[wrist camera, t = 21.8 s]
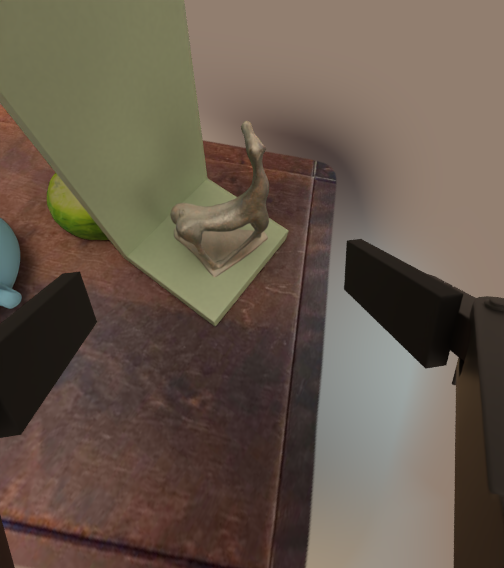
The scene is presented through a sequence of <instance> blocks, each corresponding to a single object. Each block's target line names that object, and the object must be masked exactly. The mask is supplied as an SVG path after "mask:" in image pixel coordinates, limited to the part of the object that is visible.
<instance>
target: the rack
mask: <svg viewBox="0 0 504 568" xmlns="http://www.w3.org/2000/svg"><path fill="white" fill-rule="evenodd" d="M0 103H1V104H2V106H3V107H4V108H5V109H6V111H7V112H8V113H9V114H10V116H11V117H12V118H13V120H14V121H15V122H16V123H17V125H18V126H19V127H20V128H21V130H22V131H23V132H24V133H25V135H26V136H27V137H28V138H29V140H30V141H31V142H32V143H33V145H34V146H35V147H36V148H37V150H38V151H39V152H40V153H41V155H42V156H43V157H44V158H45V160H46V161H47V162H48V163H49V165H50V166H51V167H52V168H53V170H54V171H55V172H56V174H57V175H58V176H59V177H60V179H61V180H62V181H63V182H64V184H65V185H66V186H67V187H68V189H69V190H70V191H71V192H72V194H73V195H74V196H75V197H76V199H77V200H78V201H79V202H80V204H81V205H82V206H83V207H84V209H85V210H86V211H87V212H88V214H89V215H90V216H91V217H92V219H93V220H94V221H95V222H96V224H97V225H98V226H99V227H100V229H101V230H102V231H103V233H104V234H105V235H106V236H107V238H108V239H109V240H110V241H111V243H112V244H113V245H114V246H115V248H116V249H117V250H118V251H119V253H120V254H121V255H122V256H123V257H124V258H125V259H126V260H128V261H129V262H130V263H132V264H133V265H134V266H136V267H137V268H138V269H140V270H141V271H142V272H144V273H145V274H146V275H147V276H149V277H150V278H151V279H153V280H154V281H155V282H157V283H158V284H159V285H161V286H162V287H163V288H165V289H166V290H167V291H169V292H170V293H171V294H173V295H174V296H175V297H177V298H178V299H179V300H181V301H182V302H183V303H184V304H186V305H187V306H188V307H190V308H191V309H192V310H194V311H195V312H196V313H198V314H199V315H200V316H202V317H203V318H204V319H206V320H207V321H208V322H210V323H211V324H212V325H214V326H216V325H217V324H218V323H219V322H220V320H221V319H222V318H223V317H224V315H225V314H226V313H227V312H228V310H229V309H230V308H231V307H232V305H233V304H234V303H235V302H236V300H237V299H238V298H239V297H240V295H241V294H242V293H243V292H244V291H245V289H246V288H247V287H248V286H249V284H250V283H251V282H252V281H253V279H254V278H255V277H256V276H257V274H258V273H259V272H260V271H261V269H262V268H263V267H264V266H265V264H266V263H267V262H268V261H269V259H270V258H271V257H272V256H273V254H274V253H275V252H276V251H277V249H278V248H279V247H280V246H281V244H282V243H283V242H284V241H285V240H286V237H287V234H288V230H287V229H285V228H284V227H282V226H281V225H279V224H277V223H276V222H274V221H273V220H271V219H270V218H269V224H268V227H267V228H266V230H265V231H264V232H265V233H266V234H267V236H268V239H267V240H266V241H265V242H263V243H262V244H261V245H260V246H259V247H258V248H257V249H255V250H254V251H253V252H252V253H250V254H249V255H248V256H246V257H245V258H244V259H242V260H241V261H239V262H238V263H236V264H235V265H234V266H232V267H231V268H229V269H228V270H226V271H225V272H223V273H221V274H220V275H218V276H217V277H213V276H212V275H211V274H210V273H209V272H208V271H207V269H206V268H205V267H204V265H203V264H202V263H201V262H200V260H199V259H198V258H197V257H196V256H195V255H194V254H193V253H192V252H191V251H190V250H189V249H187V248H186V247H185V246H184V245H183V244H181V243H180V242H179V241H178V240H176V239H175V237H174V229H175V228H176V224H174V223H173V222H172V220H171V216H170V213H171V210H172V208H173V207H174V206H175V205H176V204H178V203H188V204H193V205H197V206H205V207H208V206H214V205H218V204H222V203H226V202H228V201H231V200H233V199H235V198H237V197H235V196H234V195H232V194H231V193H229V192H228V191H226V190H225V189H223V188H221V187H220V186H218V185H217V184H215V183H214V182H212V181H211V180H209V179H207V172H206V164H205V157H204V149H203V141H202V134H201V126H200V119H199V111H198V104H197V96H196V88H195V81H194V73H193V65H192V58H191V50H190V42H189V35H188V28H187V20H186V12H185V4H184V0H0ZM238 229H242V230H252V231H254V228H253V227H252V226H251V224H250V223H249V224H247V225H245V226H243V227H241V228H238Z"/></svg>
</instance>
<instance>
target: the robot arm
mask: <svg viewBox="0 0 504 568" xmlns="http://www.w3.org/2000/svg"><path fill="white" fill-rule="evenodd" d="M346 250H347V251H346V266H345V285H344V290H345V291H346V292H347V293H348V294H350V295H351V296H352V297H353V298H354V299H355V300H356V301H357V302H358V303H359V304H360V305H361V306H362V307H363V308H364V309H365V310H366V311H367V312H368V313H369V314H370V315H371V316H372V317H373V318H374V319H375V320H376V321H377V322H378V323H379V324H380V325H381V326H383V328H384V329H386V330H387V331H388V332H389V333H390V334H391V335H392V336H393V337H394V338H395V339H396V340H397V341H398V342H399V343H400V344H401V345H402V346H403V347H404V348H405V349H406V350H407V351H408V352H409V353H410V354H411V355H412V356H413V357H414V358H415V359H416V360H417V361H419V363H420V364H421V365H423V366H424V367H425V368H432V367H438V366H444V365H446V364H447V360H448V356H449V352H450V350H451V351H452V352H453V353H454V354H456V355H457V356H458V357H459V358H458V362H457V366H456V370H455V374H454V377H453V381H452V384H453V385H456V433H455V434H456V435H455V437H456V439H455V511H454V512H455V513H454V516H455V517H454V568H504V298H499V297H479V298H475V297H473V296H471V295H469V294H467V293H465V292H463V291H461V290H460V289H458V288H456V287H452V285H450V284H448V283H446V282H445V283H444V281H442V280H440V279H439V278H437V277H435V276H432V275H429V274H426V273H424V272H422V271H420V270H418V269H416V268H414V267H412V266H411V265H408V264H407V263H405V262H403V261H401V260H399V259H398V258H396V257H394V256H392V255H390V254H388V253H386V252H384V251H383V250H380V249H379V248H377V247H375V246H373V245H371V244H369V243H368V242H366V241H364V240H362V239H357V240H349V241H347V248H346ZM96 323H97V321H96V318H95V315H94V312H93V309H92V306H91V303H90V300H89V297H88V294H87V291H86V288H85V286H84V283H83V280H82V277H81V274H80V272H73V273H64V274H62V275H60V276H59V277H58V278H57V279H55V280H54V281H53V282H52V283H50V284H49V285H48V286H47V287H45V288H44V289H43V290H42V291H40V292H39V293H38V294H37V295H35V296H34V297H33V298H32V299H30V300H29V301H28V302H27V303H26V304H24V305H23V306H22V307H21V308H19V309H18V310H17V311H16V312H14V313H13V314H12V315H11V316H9V317H8V318H7V319H6V320H4V321H3V322H2V323H1V324H0V438H3V437H9V436H15V435H21V434H22V432H23V431H24V429H25V428H26V426H27V425H28V423H29V422H30V420H31V419H32V417H33V416H34V414H35V413H36V411H37V410H38V408H39V407H40V406H41V404H42V403H43V401H44V400H45V398H46V397H47V395H48V394H49V392H50V391H51V389H52V388H53V386H54V385H55V383H56V382H57V380H58V379H59V377H60V376H61V374H62V373H63V371H64V370H65V369H66V367H67V366H68V364H69V363H70V361H71V360H72V358H73V357H74V355H75V354H76V352H77V351H78V349H79V348H80V346H81V345H82V343H83V342H84V340H85V339H86V337H87V336H88V334H89V333H90V332H91V330H92V329H93V327H94V326H95V324H96ZM0 568H15V567H14V564H13V560H12V556H11V553H10V549H9V545H8V542H7V538H6V534H5V531H4V527H3V523H2V520H1V516H0Z"/></svg>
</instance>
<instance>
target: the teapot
mask: <svg viewBox="0 0 504 568" xmlns="http://www.w3.org/2000/svg"><path fill="white" fill-rule="evenodd" d="M19 265H20V247H19V243H18V240H17V238H16V236H15V234H14V232H13V230H12V229H11V228H10V226H9V225H8V224H7V223H6V222H5V221H4V220H3V219H1V218H0V305H1V306H4V307H6V308H9V309H11V308H14V307H16V306H17V305H18V304H20V302H21V299H22V296H21V294H20V293H19V292H17V291H15V290H13V289H12V287H13V285H14V283H15V281H16V277H17V274H18V271H19Z"/></svg>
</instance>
